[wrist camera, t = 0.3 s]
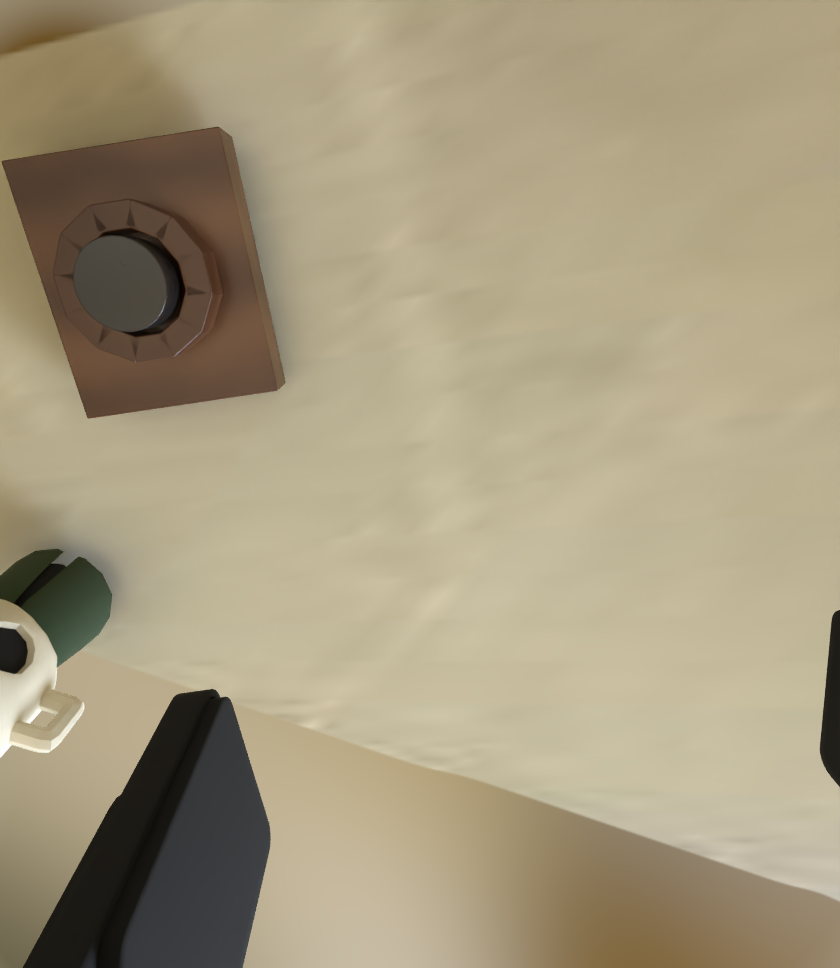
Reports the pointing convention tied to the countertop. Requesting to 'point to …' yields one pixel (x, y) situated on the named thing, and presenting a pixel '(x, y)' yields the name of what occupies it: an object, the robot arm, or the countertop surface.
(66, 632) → the character mug
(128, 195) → the button box
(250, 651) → the countertop surface
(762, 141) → the countertop surface
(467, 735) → the countertop surface
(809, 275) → the countertop surface
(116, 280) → the button
